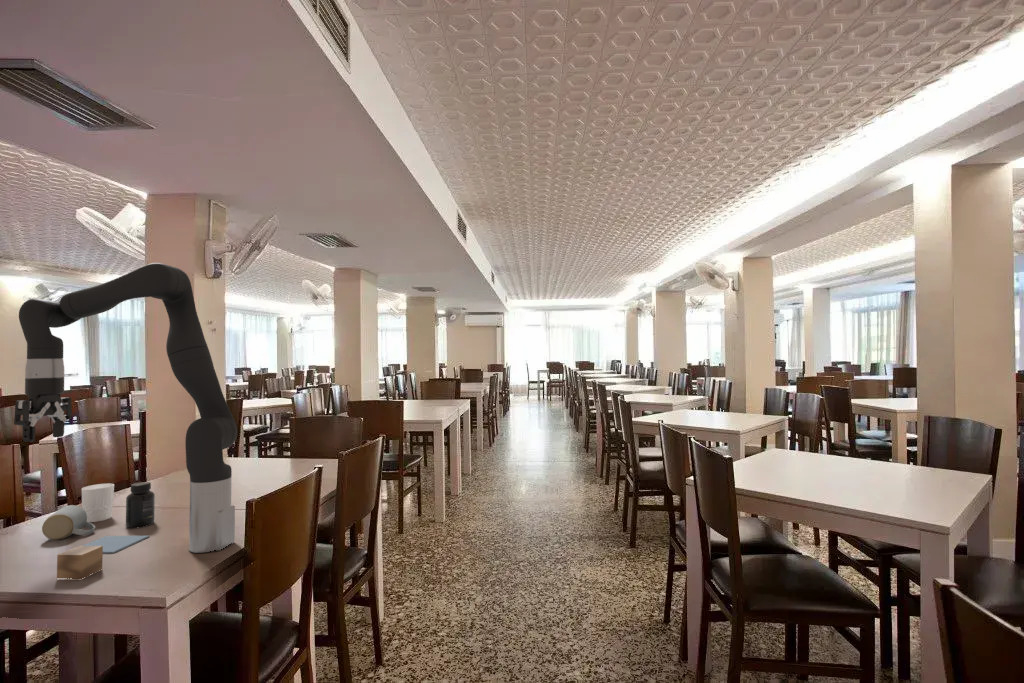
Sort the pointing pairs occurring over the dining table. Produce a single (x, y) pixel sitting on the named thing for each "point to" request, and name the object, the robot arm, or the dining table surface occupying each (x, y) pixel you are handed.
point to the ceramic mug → (67, 523)
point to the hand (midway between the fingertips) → (44, 439)
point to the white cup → (98, 501)
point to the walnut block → (79, 562)
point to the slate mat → (116, 542)
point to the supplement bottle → (140, 505)
